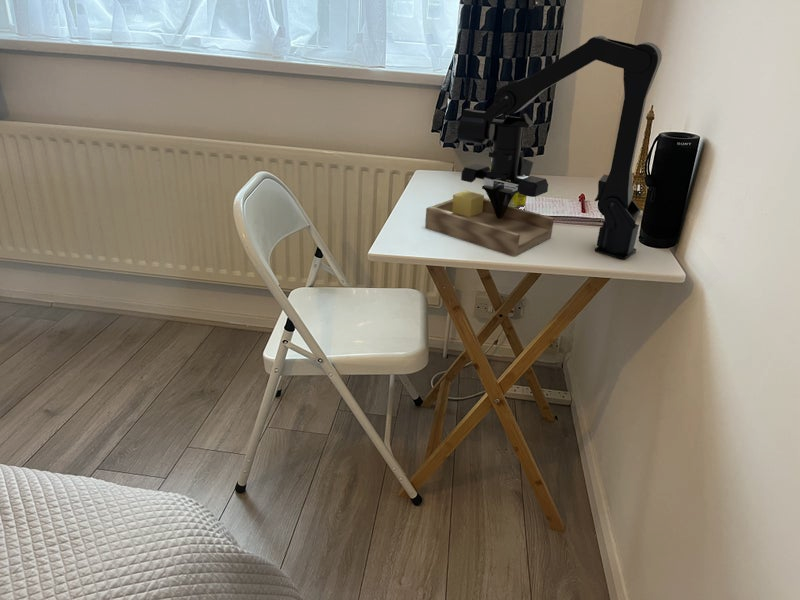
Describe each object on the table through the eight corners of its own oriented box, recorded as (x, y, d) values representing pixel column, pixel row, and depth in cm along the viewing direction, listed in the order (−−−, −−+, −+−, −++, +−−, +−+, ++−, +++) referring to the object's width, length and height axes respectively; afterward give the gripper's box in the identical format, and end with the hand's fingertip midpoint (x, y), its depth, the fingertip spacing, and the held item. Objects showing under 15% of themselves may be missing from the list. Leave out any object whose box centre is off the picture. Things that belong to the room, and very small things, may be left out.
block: (482, 212, 139) (484, 195, 137) (469, 217, 136) (471, 199, 134) (464, 207, 142) (466, 190, 140) (451, 211, 139) (453, 194, 137)
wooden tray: (550, 237, 131) (554, 216, 129) (514, 256, 121) (517, 233, 119) (464, 212, 145) (466, 192, 142) (425, 227, 134) (426, 206, 132)
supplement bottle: (517, 213, 145) (522, 171, 141) (497, 208, 149) (502, 167, 144) (529, 208, 149) (534, 167, 144) (510, 203, 152) (514, 163, 148)
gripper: (565, 148, 127) (555, 219, 134) (490, 134, 138) (485, 201, 145) (538, 156, 119) (529, 231, 126) (461, 142, 130) (457, 211, 137)
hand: (499, 217), depth 134 cm, fingers closed
